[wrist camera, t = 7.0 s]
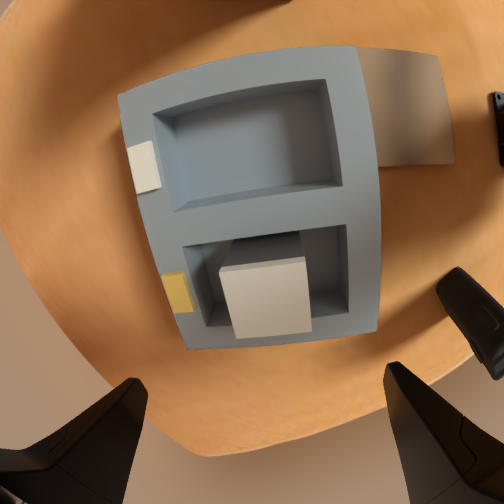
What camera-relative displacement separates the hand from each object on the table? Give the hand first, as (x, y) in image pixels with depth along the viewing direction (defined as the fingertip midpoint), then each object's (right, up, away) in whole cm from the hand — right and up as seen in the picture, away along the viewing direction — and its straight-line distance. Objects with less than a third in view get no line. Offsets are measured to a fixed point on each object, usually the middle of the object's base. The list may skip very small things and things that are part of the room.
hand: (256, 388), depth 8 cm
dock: (+1, +8, +9) cm, 12 cm away
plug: (+1, +4, +10) cm, 11 cm away
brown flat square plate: (+10, +14, +6) cm, 18 cm away
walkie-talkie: (+17, +1, +10) cm, 20 cm away
